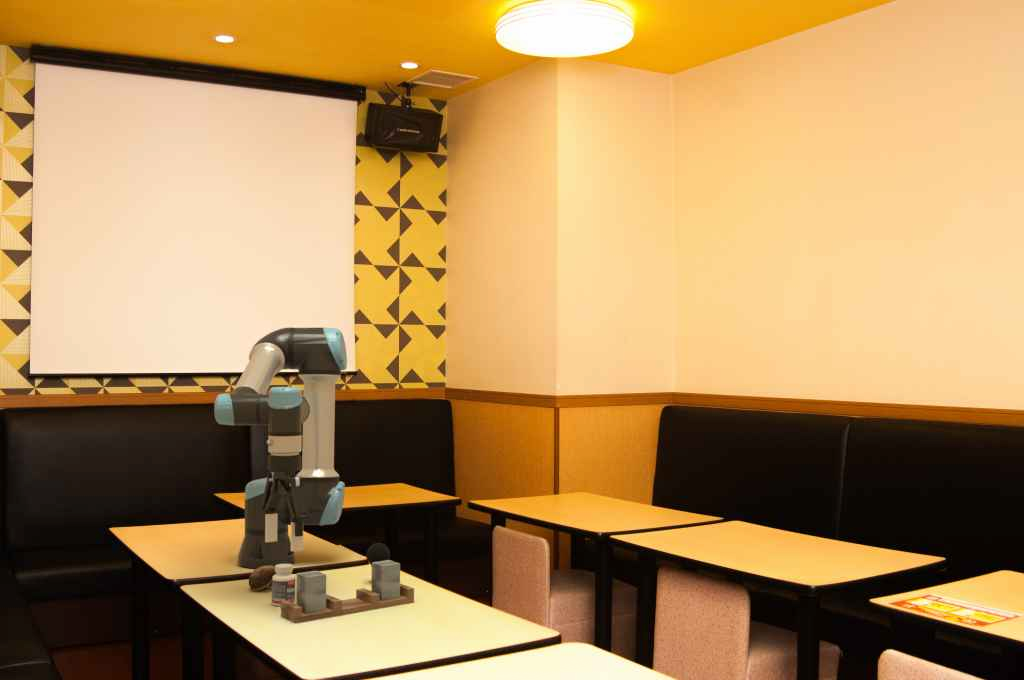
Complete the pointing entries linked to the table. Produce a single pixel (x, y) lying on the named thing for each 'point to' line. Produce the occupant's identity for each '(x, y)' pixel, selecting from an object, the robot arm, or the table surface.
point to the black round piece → (378, 553)
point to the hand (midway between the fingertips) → (283, 546)
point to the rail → (321, 605)
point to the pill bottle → (283, 584)
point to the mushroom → (261, 578)
